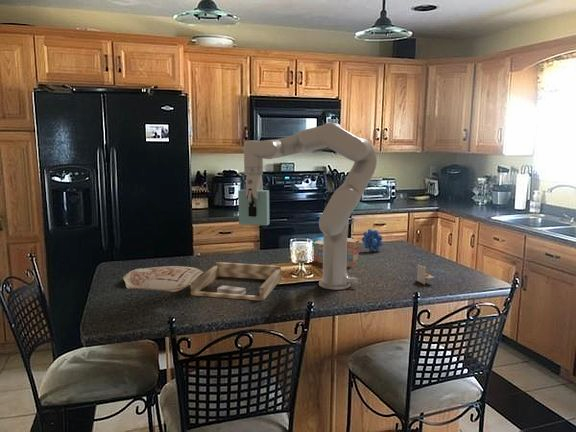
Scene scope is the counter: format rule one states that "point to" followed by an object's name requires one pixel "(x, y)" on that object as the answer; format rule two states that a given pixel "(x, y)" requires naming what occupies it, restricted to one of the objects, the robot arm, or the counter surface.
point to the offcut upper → (231, 290)
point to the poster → (162, 278)
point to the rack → (240, 271)
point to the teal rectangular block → (261, 209)
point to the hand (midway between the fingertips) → (254, 214)
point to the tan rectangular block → (351, 252)
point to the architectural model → (422, 274)
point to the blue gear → (372, 240)
